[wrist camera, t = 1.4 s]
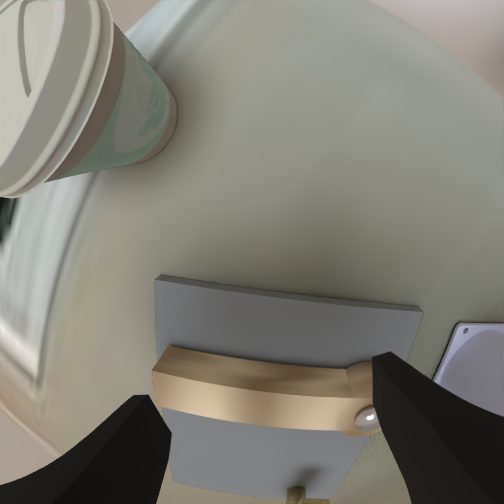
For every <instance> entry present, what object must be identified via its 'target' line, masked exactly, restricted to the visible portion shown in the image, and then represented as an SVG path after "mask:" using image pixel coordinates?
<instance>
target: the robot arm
mask: <svg viewBox="0 0 504 504" xmlns="http://www.w3.org/2000/svg"><path fill="white" fill-rule="evenodd" d="M465 328H466V329H465ZM464 329H465V331H464ZM372 387H373V394H372V402H373V405H374V408H375V412H376V415H377V418H378V421H379V424H380V427H381V429H382V432H383V434H384V436H385V438H386V440H387V442H388V445H389V447H390V449H391V451H392V453H393V456H394V458H395V460H396V462H397V464H398V467H399V469H400V471H401V473H402V476H403V478H404V480H405V483H406V486H407V488H408V492H409V495H410V499H411V503H412V504H504V323H459V324H458V325H457V326H456V327H455V329H454V332H453V335H452V337H451V340H450V342H449V345H448V347H447V350H446V352H445V355H444V357H443V359H442V362H441V364H440V366H439V368H438V371H437V373H436V375H435V377H434V379H433V381H432V380H431V379H429V378H428V377H426V376H425V375H423V374H422V373H420V372H419V371H418V370H416V369H415V368H413V367H412V366H411V365H409V364H408V363H406V362H405V361H404V360H402V359H401V358H400V357H398V356H397V355H395V354H394V353H392V352H391V351H389V352H386V353H383V354H380V355H376V356H373V357H372ZM171 438H172V432H171V431H170V429H169V428H168V426H167V425H166V423H165V421H164V420H163V418H162V417H161V415H160V413H159V412H158V410H157V408H156V407H155V405H154V403H153V402H152V400H151V398H150V397H149V395H133V396H132V397H131V398H129V399H128V400H127V401H126V402H125V403H123V404H122V405H121V406H120V407H119V408H118V409H117V410H116V411H115V412H113V413H112V414H111V415H110V416H109V417H108V418H107V419H106V420H105V421H104V422H102V423H101V424H100V425H99V426H98V427H97V428H96V429H95V430H94V431H92V432H91V433H90V434H89V435H88V436H87V437H85V438H84V439H83V440H82V441H80V442H79V443H78V444H77V445H75V446H74V447H73V448H72V449H71V450H69V451H68V452H66V453H65V454H64V455H62V456H61V457H59V458H58V459H56V460H55V461H53V462H52V463H50V464H48V465H47V466H45V467H43V468H41V469H39V470H37V471H35V472H33V473H31V474H29V475H27V476H25V477H23V478H20V479H17V480H15V481H12V482H9V483H6V484H3V485H0V504H156V503H157V499H158V495H159V492H160V488H161V485H162V481H163V478H164V474H165V471H166V467H167V463H168V460H169V454H170V447H171Z"/></svg>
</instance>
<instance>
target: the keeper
mask: <svg viewBox="0 0 504 504" xmlns="http://www.w3.org/2000/svg"><path fill="white" fill-rule="evenodd" d="M286 504H329V499H316V498H306V488H305V487H302V486H293V487H290V488H288V489H287V493H286Z"/></svg>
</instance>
